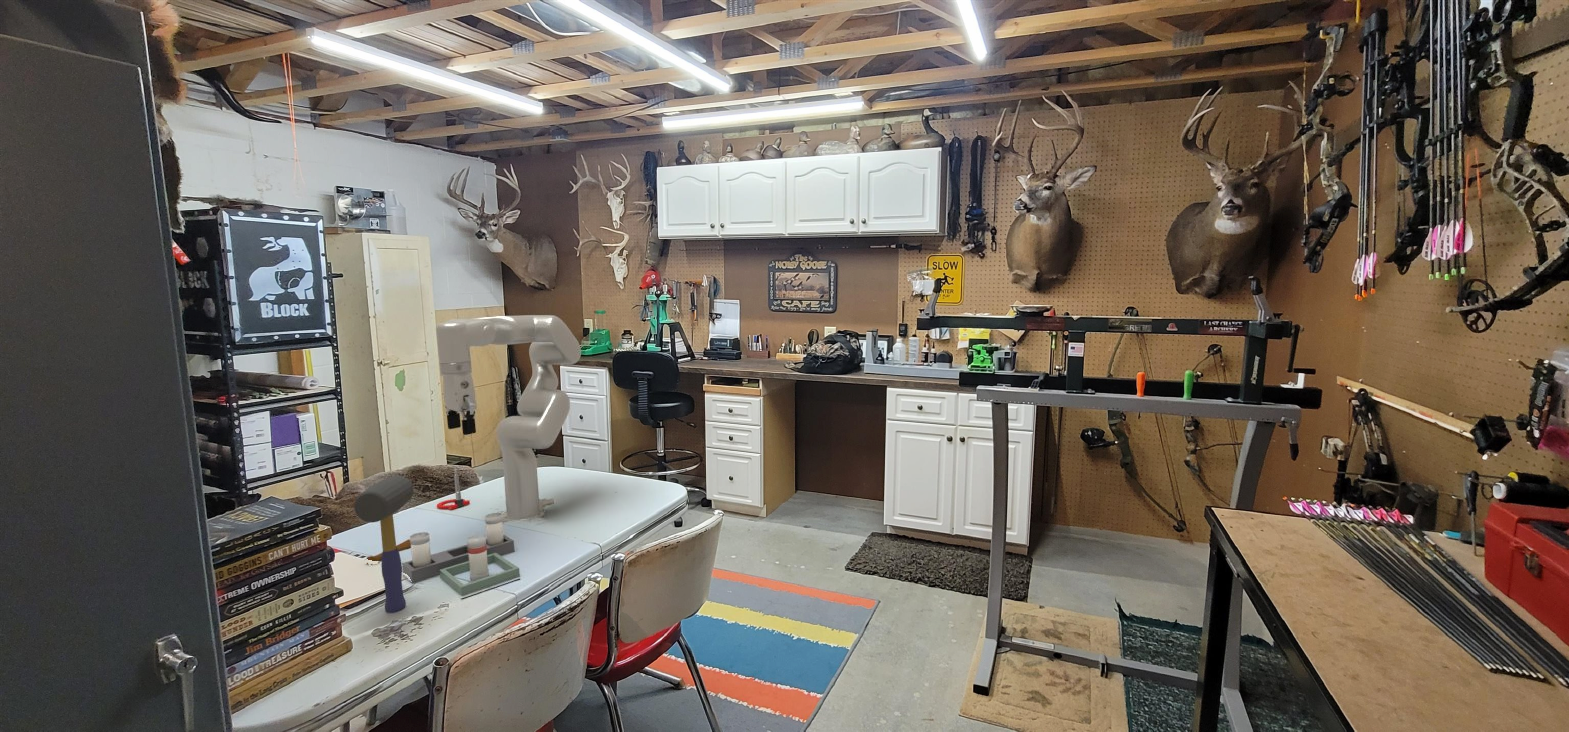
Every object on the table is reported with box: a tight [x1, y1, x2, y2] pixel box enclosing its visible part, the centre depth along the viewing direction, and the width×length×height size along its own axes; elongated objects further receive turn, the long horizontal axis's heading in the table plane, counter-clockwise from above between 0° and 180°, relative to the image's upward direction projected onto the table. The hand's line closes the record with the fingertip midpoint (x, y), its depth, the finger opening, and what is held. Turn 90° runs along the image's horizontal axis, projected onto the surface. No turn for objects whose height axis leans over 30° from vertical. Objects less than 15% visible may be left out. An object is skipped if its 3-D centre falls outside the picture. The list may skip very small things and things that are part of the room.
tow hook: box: [436, 467, 471, 511], centre depth 214 cm, size 8×13×9 cm
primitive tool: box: [365, 538, 411, 562], centre depth 176 cm, size 19×6×4 cm, turn 176°
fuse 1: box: [409, 531, 432, 569], centre depth 161 cm, size 4×4×10 cm
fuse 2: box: [484, 512, 504, 546], centre depth 173 cm, size 4×4×10 cm
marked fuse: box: [466, 534, 490, 582], centre depth 159 cm, size 4×4×10 cm
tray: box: [439, 553, 521, 601], centre depth 159 cm, size 14×14×3 cm
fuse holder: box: [401, 533, 515, 584], centre depth 168 cm, size 25×7×4 cm, turn 136°
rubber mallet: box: [353, 475, 415, 613], centre depth 143 cm, size 12×8×30 cm, turn 5°
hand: (461, 430), depth 177 cm, fingers open, 9 cm apart
